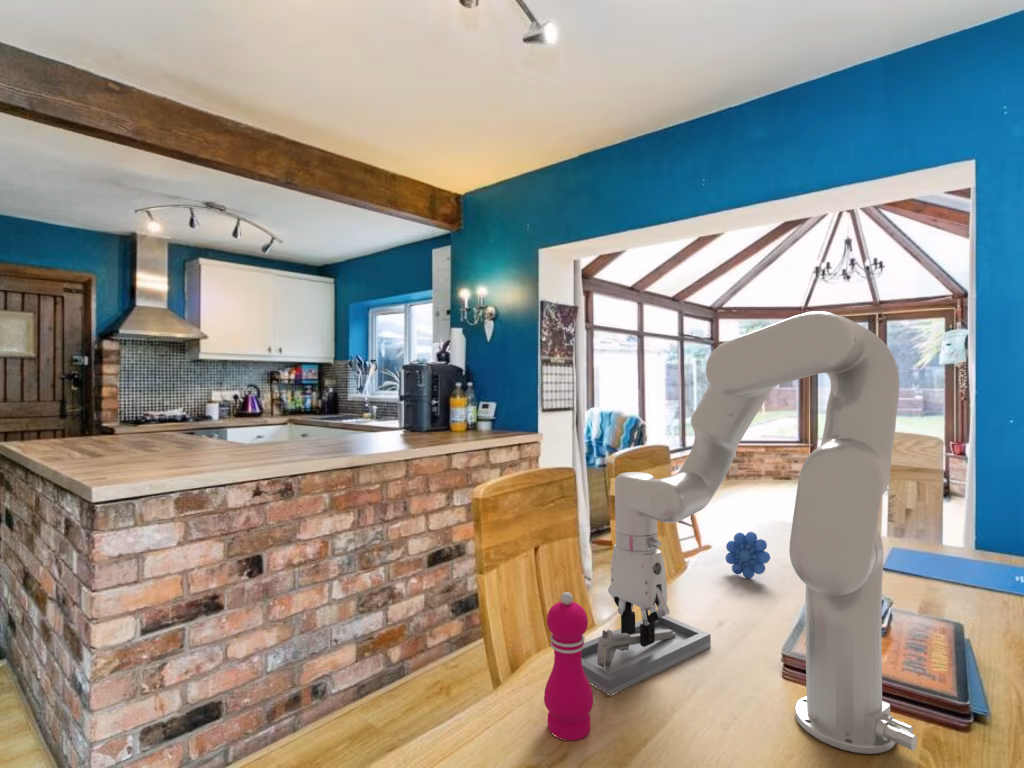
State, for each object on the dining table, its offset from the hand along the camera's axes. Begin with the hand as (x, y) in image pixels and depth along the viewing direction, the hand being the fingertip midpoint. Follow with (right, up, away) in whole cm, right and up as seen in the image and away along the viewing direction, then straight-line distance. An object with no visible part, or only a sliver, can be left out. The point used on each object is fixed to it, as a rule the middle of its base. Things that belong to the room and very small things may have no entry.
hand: (637, 638), depth 102 cm
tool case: (0, -3, 0) cm, 3 cm away
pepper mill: (-15, -4, -20) cm, 26 cm away
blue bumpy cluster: (+37, -2, +39) cm, 54 cm away
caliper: (0, -2, 0) cm, 2 cm away
